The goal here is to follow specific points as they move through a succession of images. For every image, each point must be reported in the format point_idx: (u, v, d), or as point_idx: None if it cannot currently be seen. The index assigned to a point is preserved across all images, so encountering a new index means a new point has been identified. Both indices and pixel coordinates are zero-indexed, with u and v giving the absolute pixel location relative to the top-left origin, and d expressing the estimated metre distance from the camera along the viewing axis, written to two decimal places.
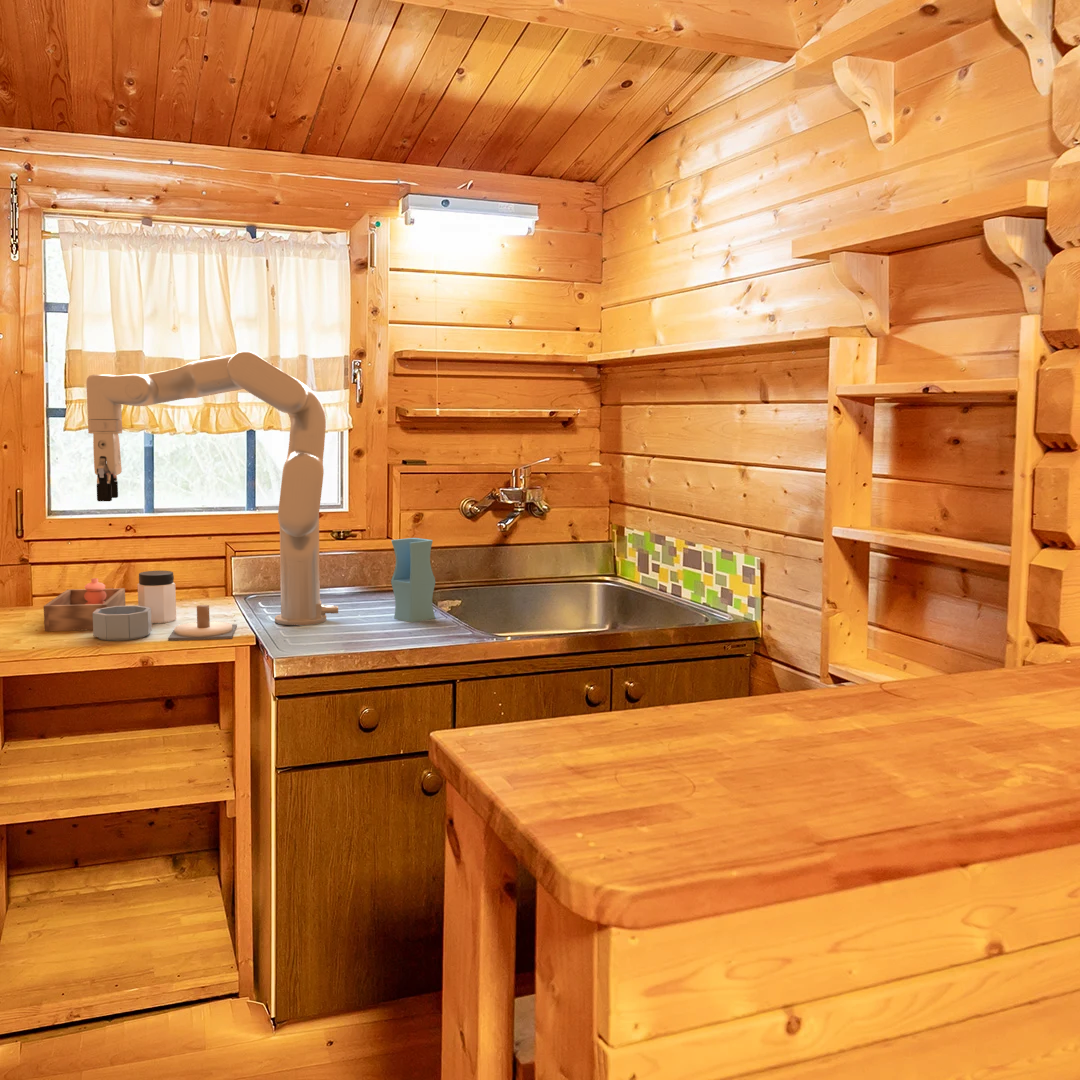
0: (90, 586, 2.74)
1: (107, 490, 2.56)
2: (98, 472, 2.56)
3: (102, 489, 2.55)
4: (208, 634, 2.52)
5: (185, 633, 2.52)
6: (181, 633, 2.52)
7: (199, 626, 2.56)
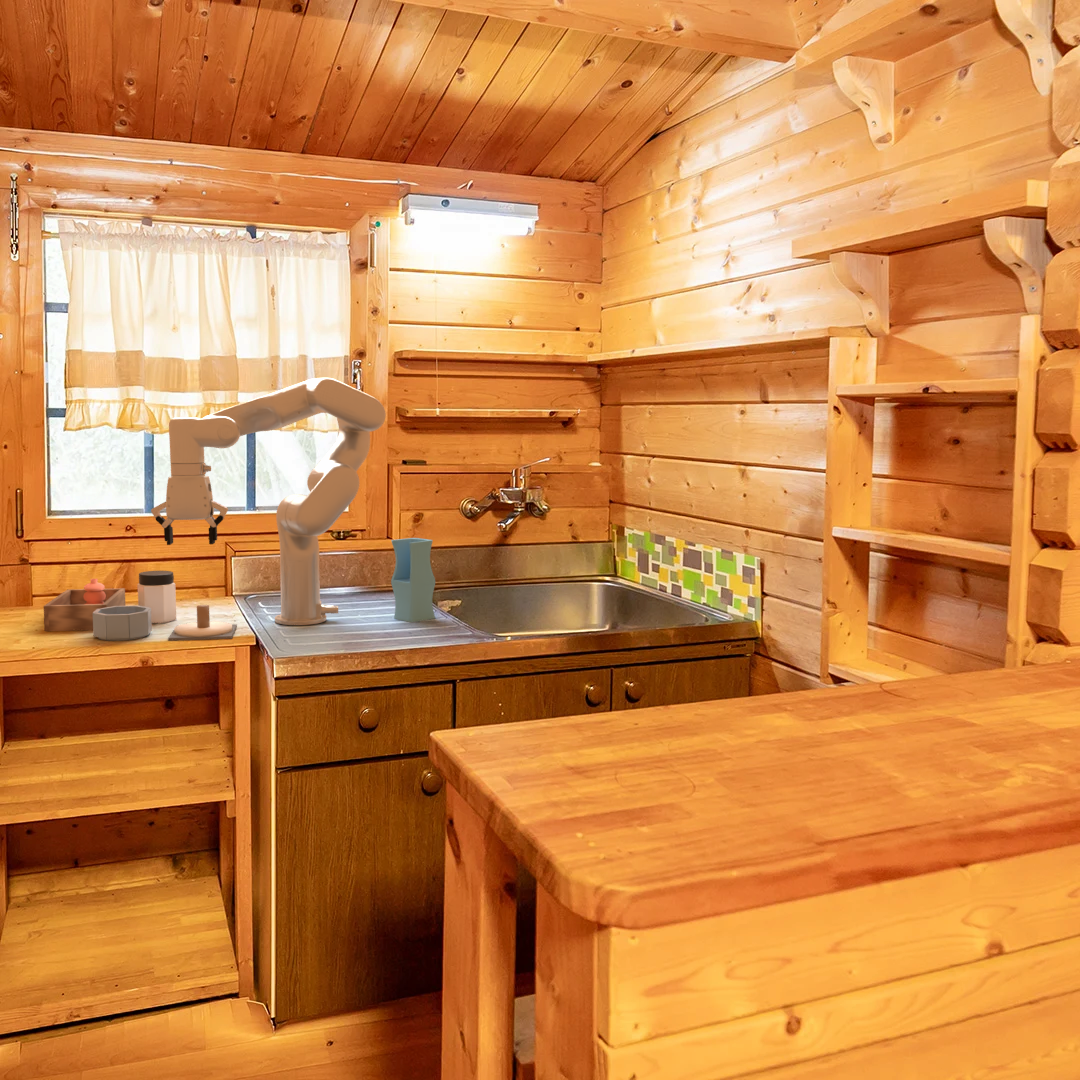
0: (89, 587, 2.74)
1: None
2: None
3: (215, 531, 2.56)
4: (208, 634, 2.52)
5: (185, 633, 2.52)
6: (181, 632, 2.52)
7: (199, 626, 2.56)
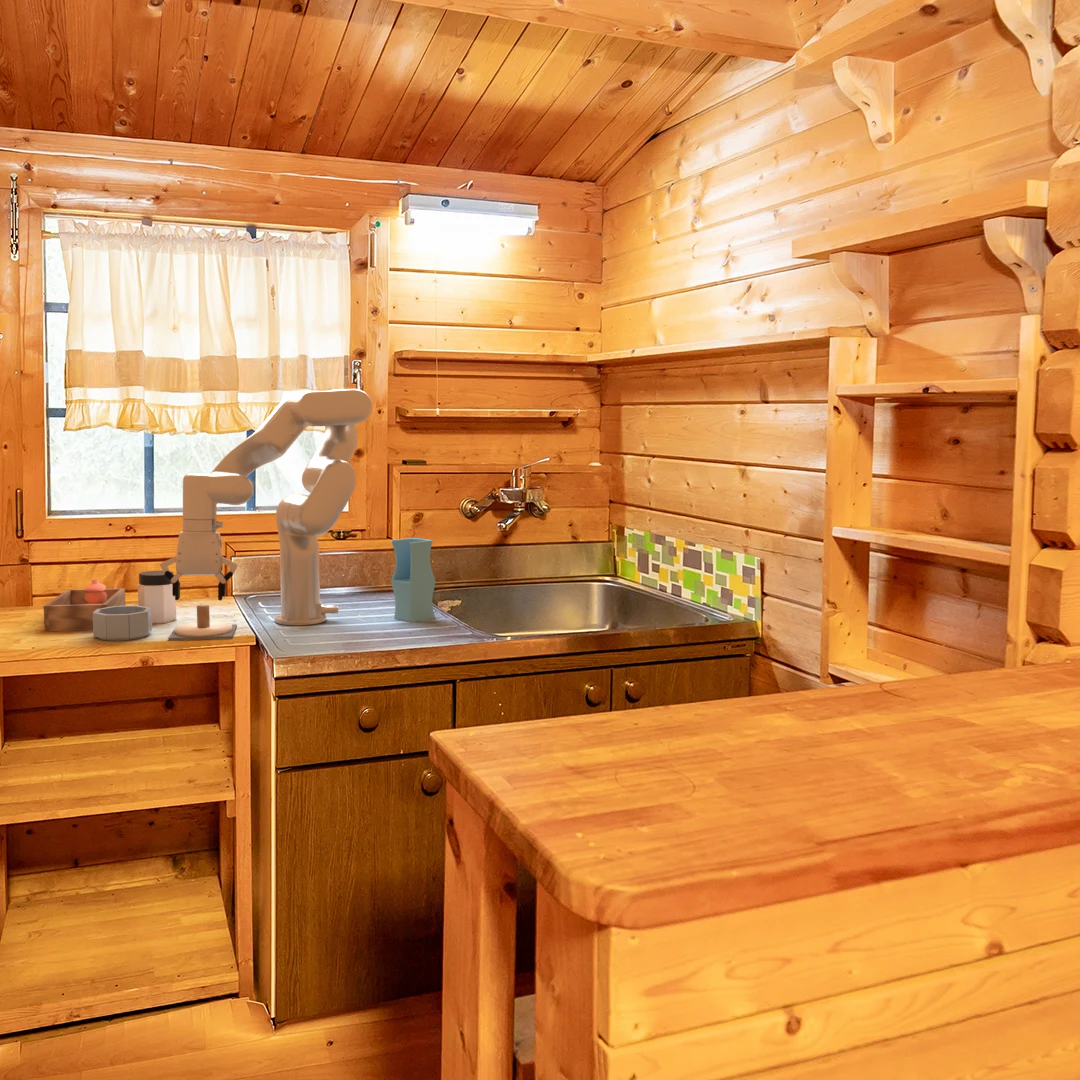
0: (90, 587, 2.73)
1: None
2: None
3: None
4: (208, 634, 2.52)
5: (185, 633, 2.52)
6: (181, 632, 2.52)
7: (199, 626, 2.56)
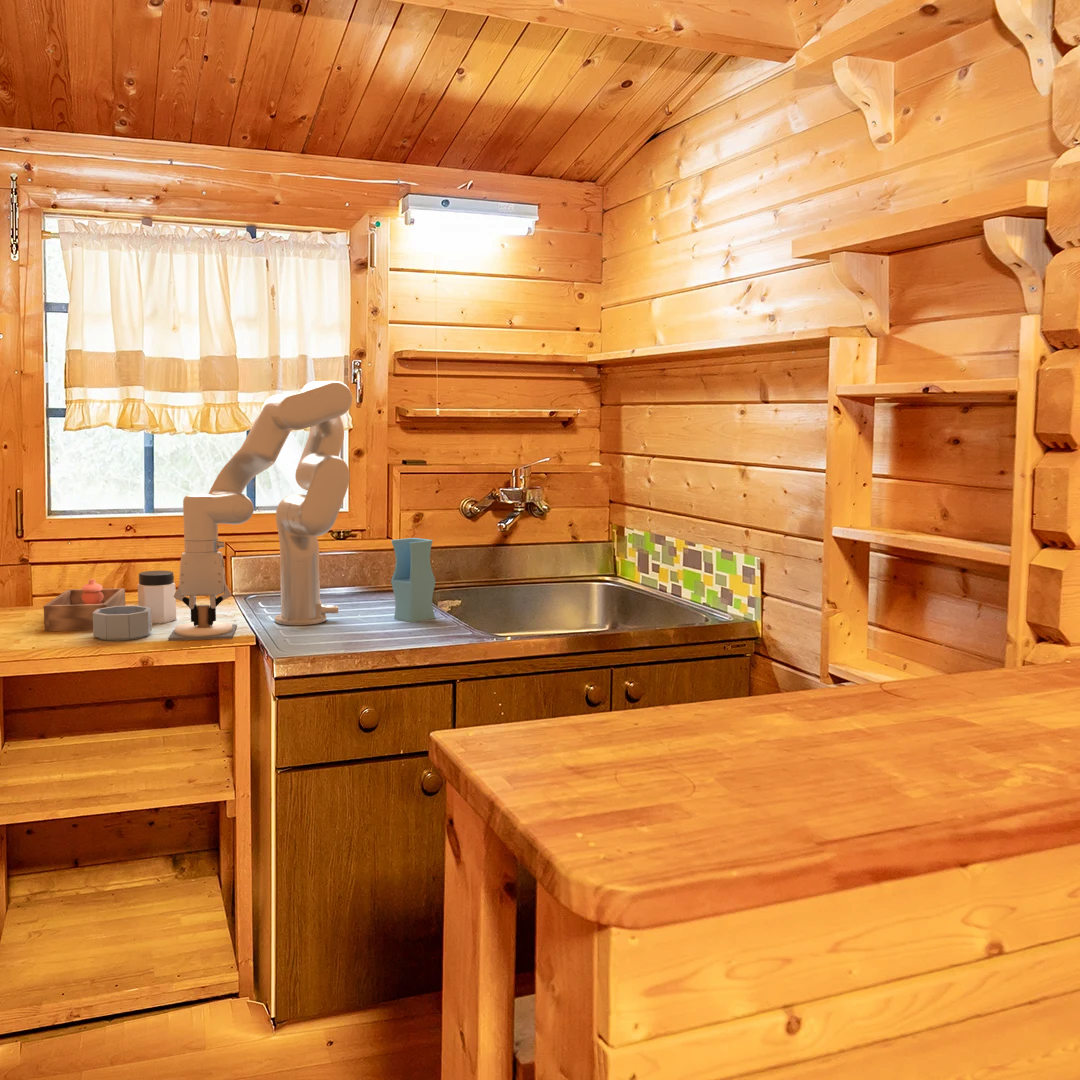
0: (87, 588, 2.73)
1: None
2: (214, 596, 2.56)
3: None
4: (208, 634, 2.52)
5: (185, 633, 2.52)
6: (181, 632, 2.52)
7: (199, 626, 2.56)
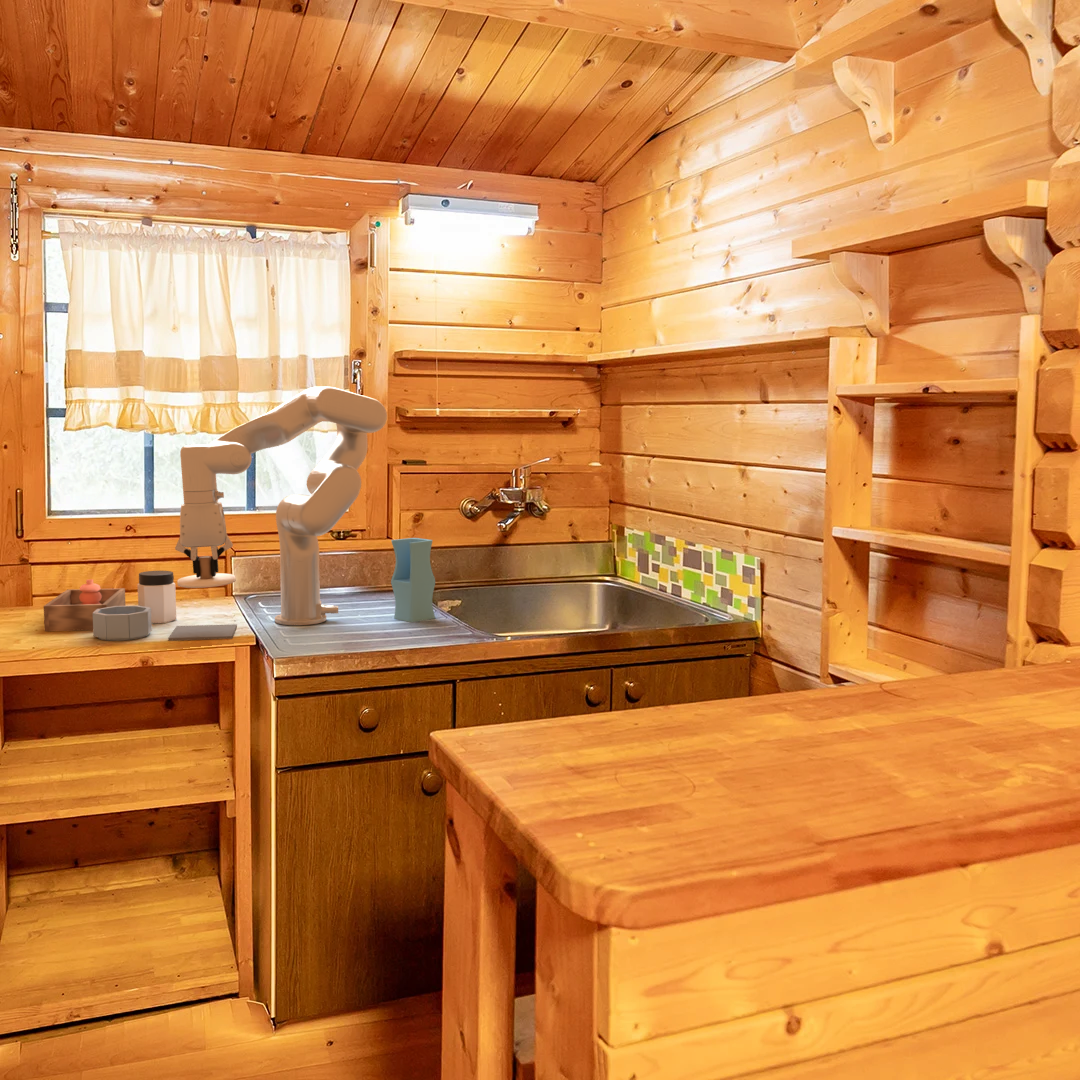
0: (85, 588, 2.72)
1: None
2: (216, 547, 2.55)
3: None
4: (211, 585, 2.51)
5: (188, 584, 2.51)
6: (184, 584, 2.51)
7: (202, 577, 2.56)
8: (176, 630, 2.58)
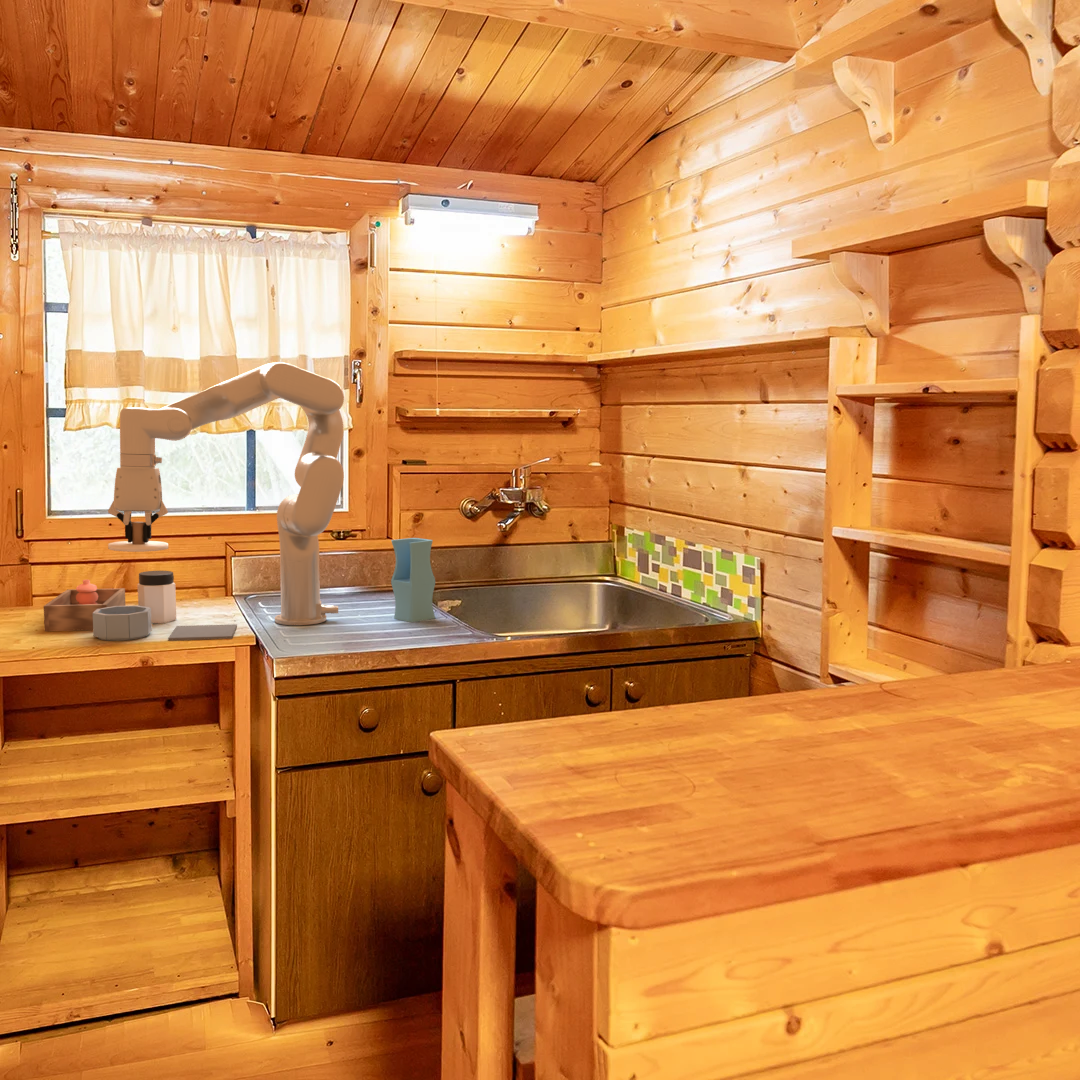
0: (82, 588, 2.72)
1: None
2: (150, 512, 2.51)
3: (150, 530, 2.52)
4: (142, 549, 2.47)
5: (118, 548, 2.46)
6: (114, 547, 2.47)
7: (134, 542, 2.51)
8: (176, 630, 2.58)
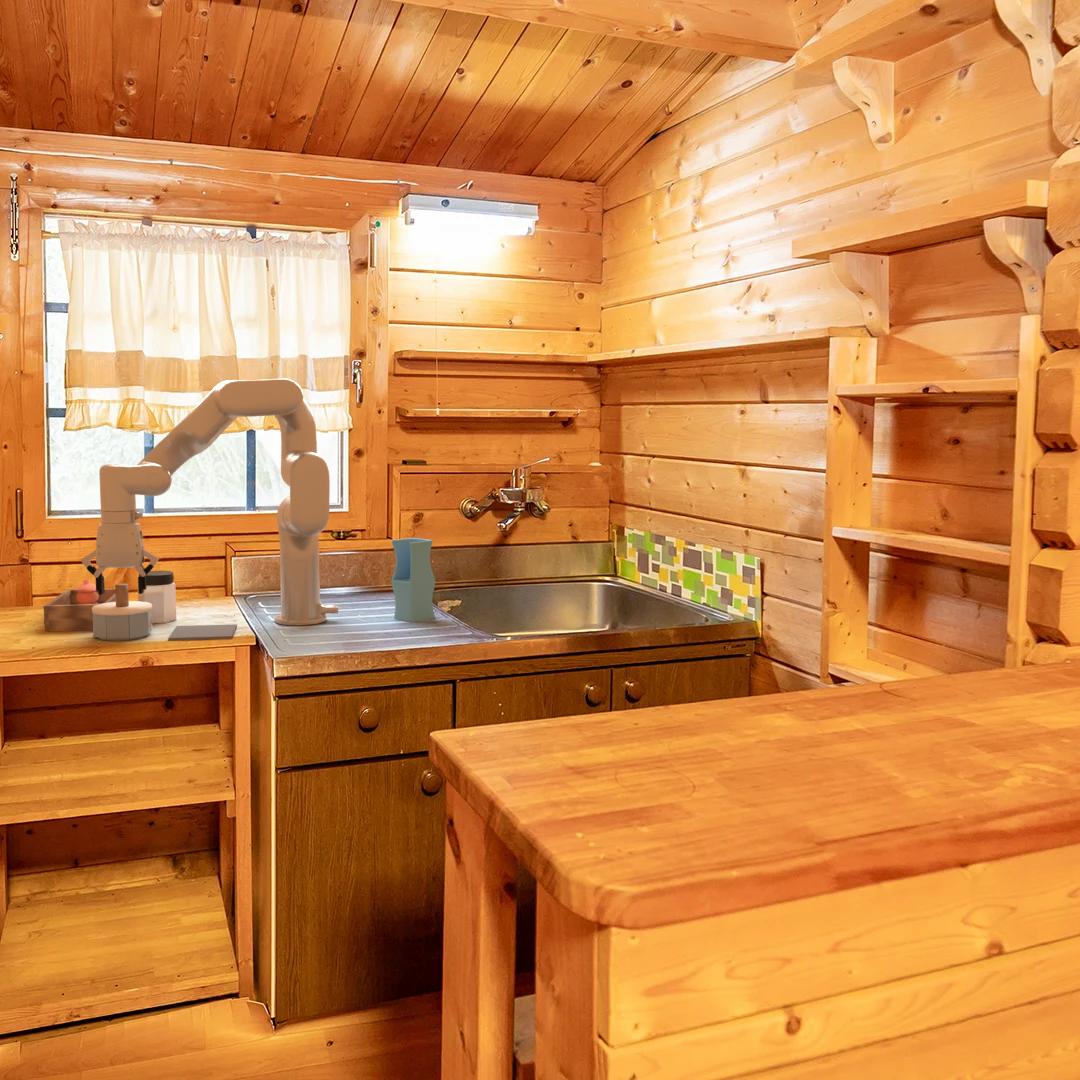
0: (83, 588, 2.72)
1: None
2: None
3: (145, 581, 2.54)
4: (125, 613, 2.48)
5: (102, 612, 2.48)
6: (98, 611, 2.48)
7: (117, 605, 2.52)
8: (176, 630, 2.58)
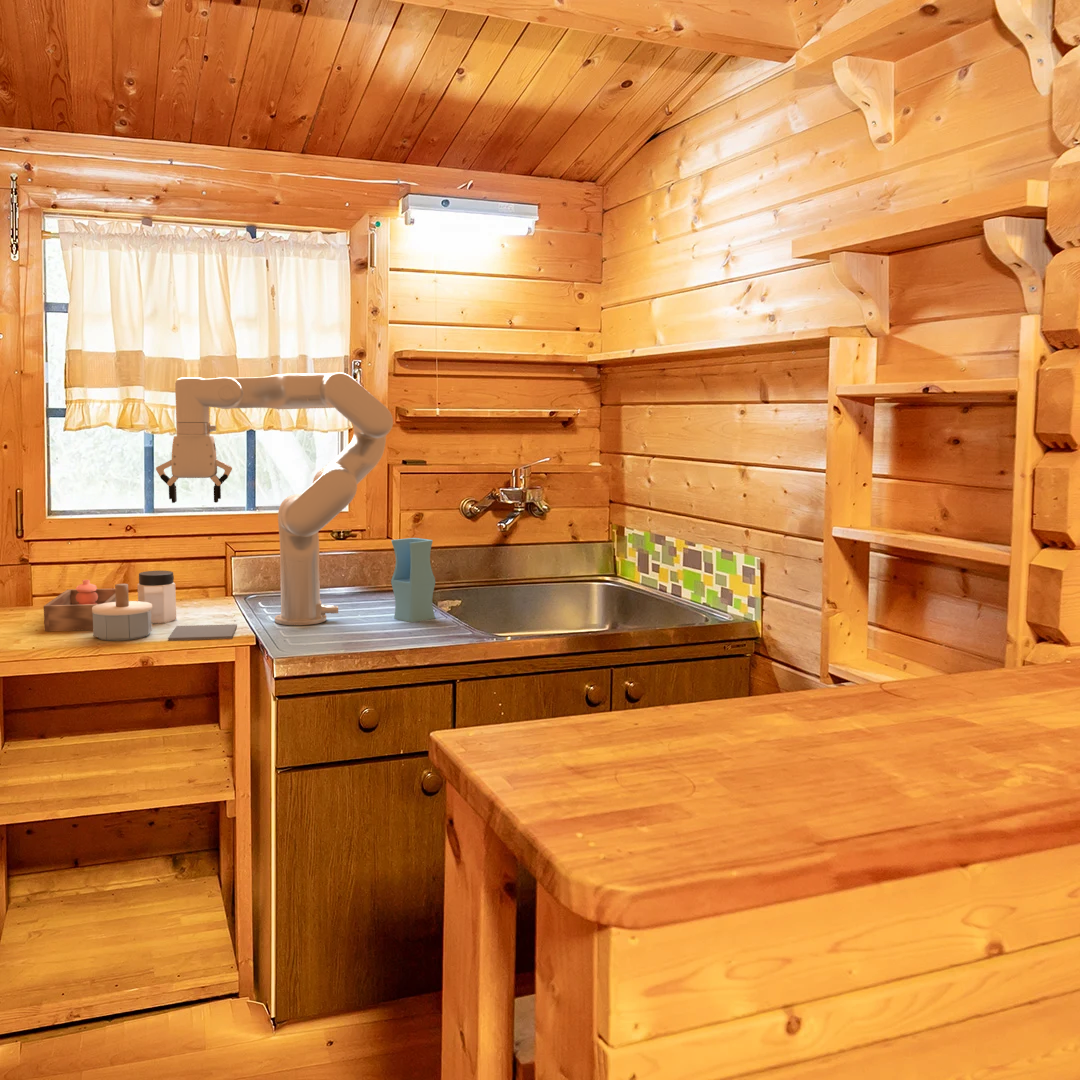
0: (82, 588, 2.72)
1: None
2: None
3: None
4: (125, 613, 2.48)
5: (102, 612, 2.48)
6: (98, 611, 2.48)
7: (117, 605, 2.52)
8: (176, 630, 2.58)
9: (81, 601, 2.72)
